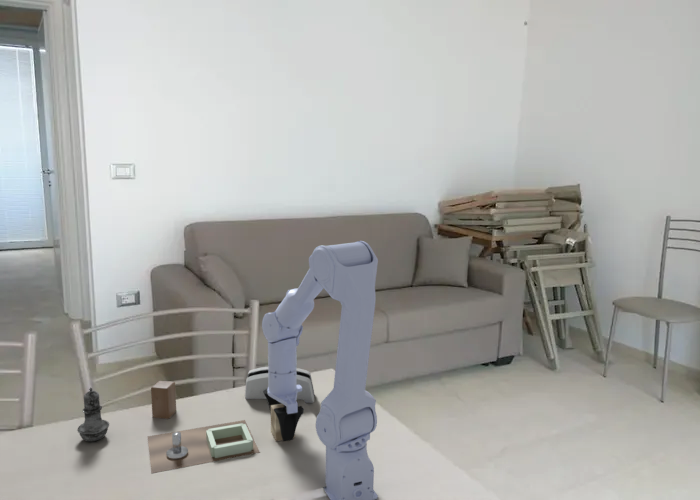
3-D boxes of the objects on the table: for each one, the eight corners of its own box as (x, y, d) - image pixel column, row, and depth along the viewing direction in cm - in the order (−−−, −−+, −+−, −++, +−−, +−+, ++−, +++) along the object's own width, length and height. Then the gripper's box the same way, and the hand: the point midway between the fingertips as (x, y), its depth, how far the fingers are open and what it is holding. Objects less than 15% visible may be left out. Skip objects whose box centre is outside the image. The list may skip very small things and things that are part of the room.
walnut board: (259, 457, 109) (259, 452, 109) (151, 478, 102) (151, 473, 101) (244, 424, 122) (244, 420, 122) (147, 440, 114) (147, 436, 114)
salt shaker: (75, 452, 110) (71, 395, 108) (81, 437, 115) (77, 382, 113) (108, 448, 111) (104, 392, 109) (112, 434, 117) (108, 380, 115)
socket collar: (253, 450, 110) (253, 441, 109) (212, 458, 106) (211, 449, 106) (245, 431, 117) (244, 422, 116) (206, 438, 114) (205, 429, 113)
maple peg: (294, 442, 115) (294, 410, 114) (275, 445, 113) (275, 413, 112) (289, 433, 119) (289, 402, 117) (270, 436, 117) (270, 405, 116)
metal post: (189, 457, 107) (188, 436, 106) (167, 461, 105) (166, 440, 105) (186, 447, 110) (186, 427, 110) (165, 450, 109) (164, 430, 108)
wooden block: (151, 421, 122) (150, 387, 121) (160, 413, 126) (158, 379, 125) (169, 423, 122) (167, 388, 120) (177, 414, 126) (175, 381, 124)
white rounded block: (315, 393, 138) (314, 362, 133) (314, 407, 134) (313, 376, 129) (247, 392, 138) (244, 361, 132) (244, 406, 133) (241, 375, 128)
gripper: (312, 379, 108) (312, 444, 111) (291, 353, 121) (291, 412, 124) (277, 385, 105) (277, 451, 108) (259, 358, 119) (259, 417, 121)
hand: (282, 430), depth 116 cm, fingers open, 7 cm apart
